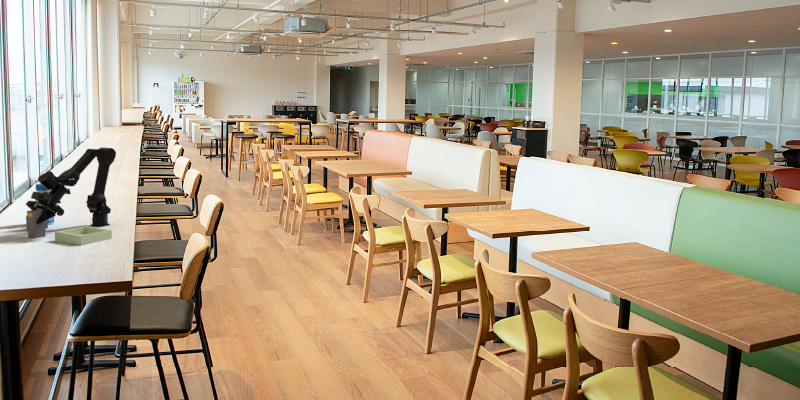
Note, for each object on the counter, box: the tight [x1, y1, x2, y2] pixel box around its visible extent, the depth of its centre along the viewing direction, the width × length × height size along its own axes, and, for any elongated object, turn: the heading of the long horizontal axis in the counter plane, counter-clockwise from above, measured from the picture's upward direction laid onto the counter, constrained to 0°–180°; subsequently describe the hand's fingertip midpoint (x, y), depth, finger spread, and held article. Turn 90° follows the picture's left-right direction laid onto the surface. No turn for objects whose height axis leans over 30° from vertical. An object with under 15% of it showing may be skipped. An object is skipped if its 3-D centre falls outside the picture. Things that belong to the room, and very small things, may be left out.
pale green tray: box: [54, 226, 113, 246], centre depth 268 cm, size 16×16×4 cm
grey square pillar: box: [26, 209, 46, 239], centre depth 269 cm, size 5×4×12 cm
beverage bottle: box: [34, 183, 55, 226], centre depth 298 cm, size 8×8×20 cm
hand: (33, 223), depth 268 cm, fingers closed on grey square pillar, 4 cm apart
